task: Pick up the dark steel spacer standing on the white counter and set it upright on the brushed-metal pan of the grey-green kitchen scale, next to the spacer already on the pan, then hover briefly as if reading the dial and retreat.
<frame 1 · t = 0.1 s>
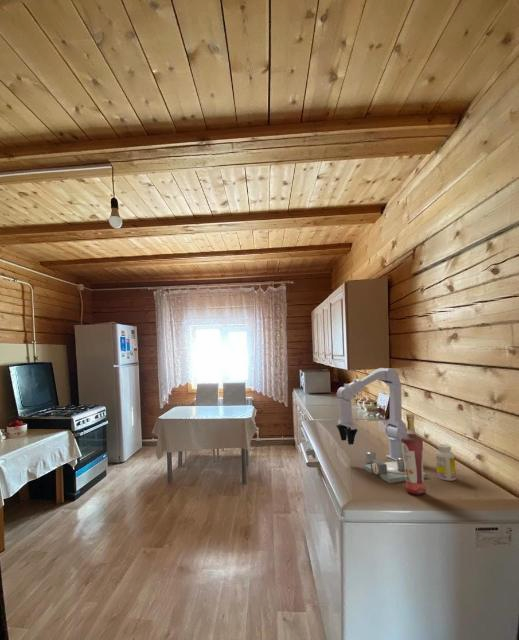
hand: (347, 442, 158), 10 cm above the freezer top, fingers open, 7 cm apart
spacer a: (371, 463, 156), on the freezer top
scale: (394, 473, 144), on the freezer top
supplement bottle: (446, 478, 136), on the freezer top
spacer b: (403, 470, 140), point 2 cm above the freezer top, touching scale
liquor: (415, 493, 123), on the freezer top
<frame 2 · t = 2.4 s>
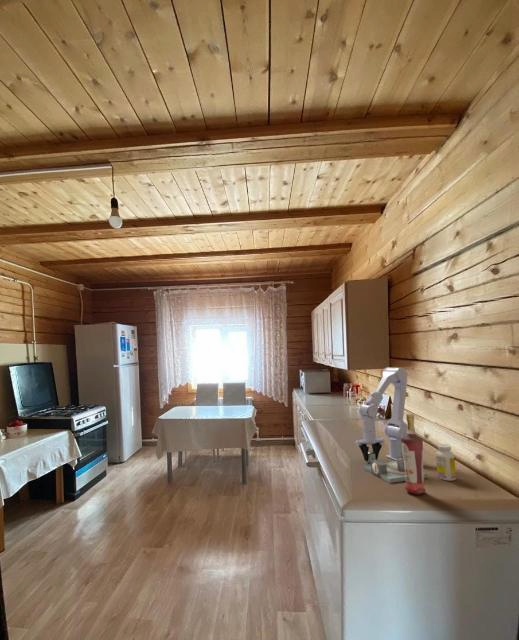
hand: (370, 460, 157), 2 cm above the freezer top, fingers closed on spacer a, 4 cm apart
spacer a: (371, 463, 156), on the freezer top, touching gripper
everything else where it was.
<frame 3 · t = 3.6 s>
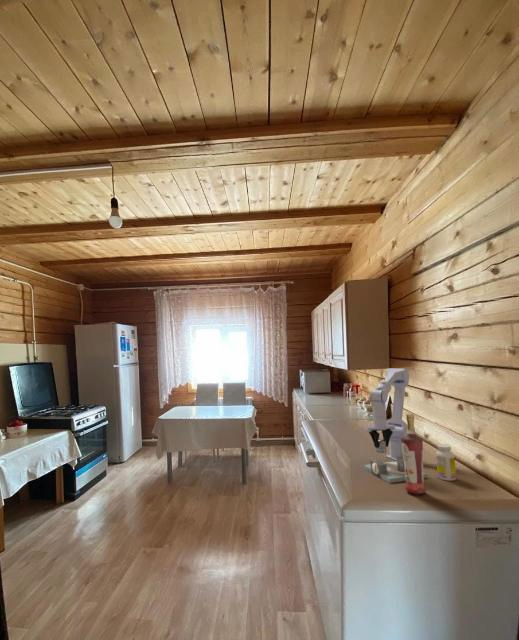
hand: (381, 446, 152), 9 cm above the freezer top, fingers closed on spacer a, 4 cm apart
spacer a: (381, 451, 152), point 7 cm above the freezer top, touching gripper
everything else where it was.
when the fingers open (5 cm above the freezer top, at t = 5.0 s): spacer a stays where it is, resting on scale.
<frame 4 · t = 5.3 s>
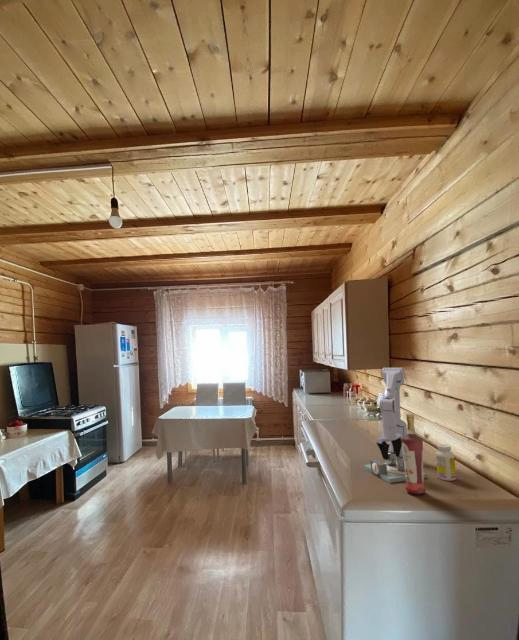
hand: (391, 457, 148), 5 cm above the freezer top, fingers open, 7 cm apart
spacer a: (391, 464, 148), point 2 cm above the freezer top, touching scale
everything else where it was.
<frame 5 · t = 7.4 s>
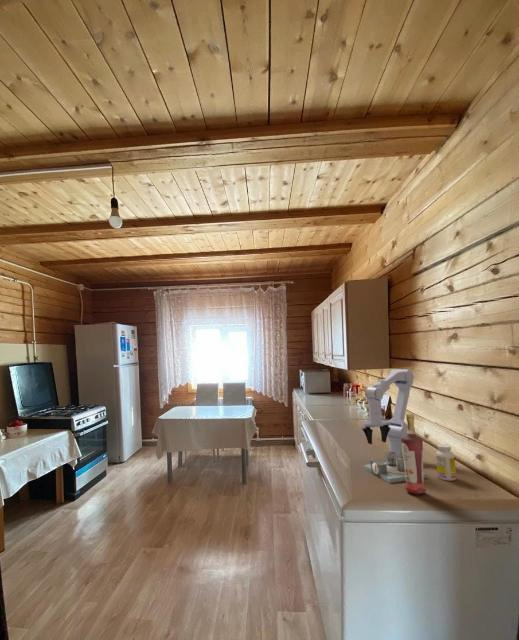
hand: (377, 442, 156), 10 cm above the freezer top, fingers open, 7 cm apart
nothing on the freezer top moved.
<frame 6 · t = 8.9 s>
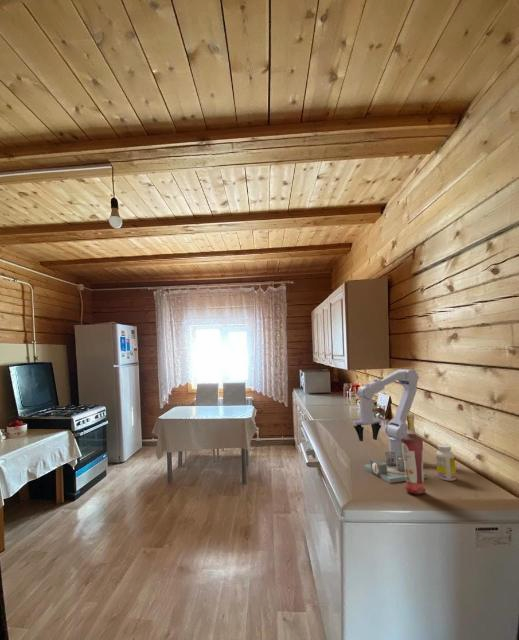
hand: (368, 440, 161), 10 cm above the freezer top, fingers open, 7 cm apart
nothing on the freezer top moved.
at the end: spacer a inside the target area on the scale (3.9 cm from its centre), point 2.2 cm above the scale's base; spacer a tilted 0°; the gripper is holding nothing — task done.
